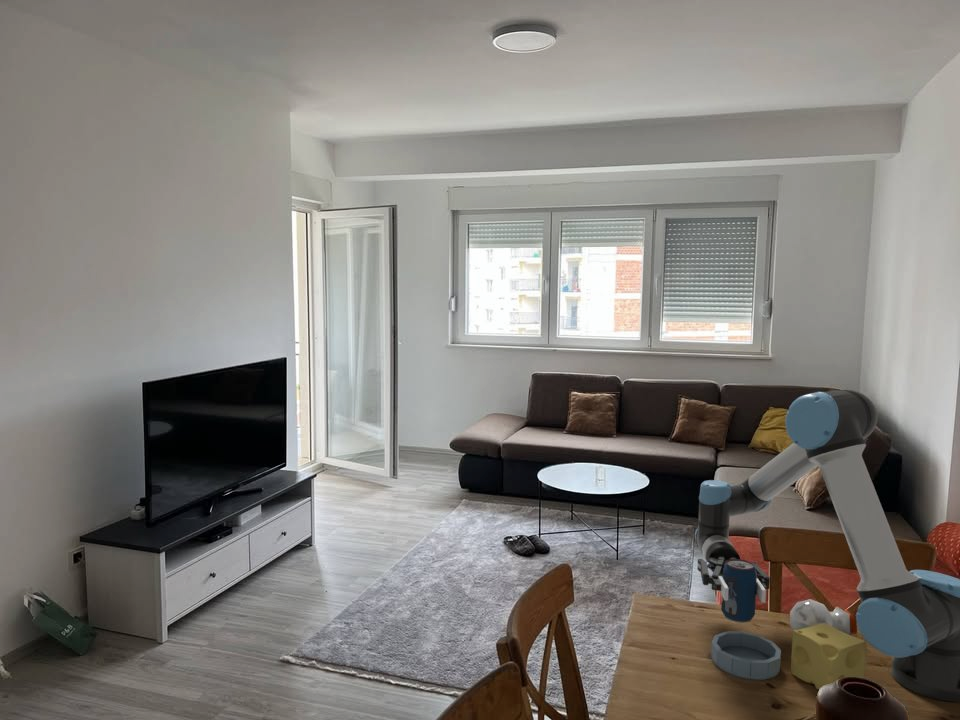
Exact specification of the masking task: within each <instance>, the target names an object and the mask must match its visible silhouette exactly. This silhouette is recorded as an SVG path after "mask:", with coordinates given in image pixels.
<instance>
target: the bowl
mask: <svg viewBox="0 0 960 720" xmlns="http://www.w3.org/2000/svg"><path fill="white" fill-rule="evenodd" d="M710 649H711V650H710V651H711V653H710V656H711V661H712V663H713V664H714V665H715V666H716V667H717V668H718V669H720V670H722V671H723V672H725V673H727V674H729V675H731V676H733V677H737V678H741V679H746V680H752V681H763V680H764V681H765V680H769V679H773V678H775V677H777V676H778V674H779V673H780V668H781V661H782V660H781V659H782V657H781V656H782V650H781V648H780V647H778V645H777V644H776V643H775V642H773V641H772V640H770V639H768V638H766V637H763V636H761V635H759V634H754V633H751V632H747V631H741V630H739V631H737V630H736V631H735V630H734V631H733V630H732V631H723V632H721V633H718V634H715V635H714V636H713V638H712V641H711V648H710Z"/></svg>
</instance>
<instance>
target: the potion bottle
mask: <svg viewBox="0 0 960 720" xmlns="http://www.w3.org/2000/svg"><path fill="white" fill-rule="evenodd" d="M789 619H790V620H789V621H790V622H789V623H790V627H791V629H792V630H793V631H794V630H799V629H804V628H808V627H812V626H815V625H818V624H823V623H826V624H828V625H830V626H832V627H834V628H836V629H838V630H840V631H842V632H844V633H846V634H849V635H851V636H853V635H857V634H858V625H857V621H856V614H854V613H852V611H849V610H847V609H846V608H843V609H842V608H840V607H839V606H836V607H835V608H834V610H833V611H829V609H828V608H827V606H825V604H824V603H821V602H819V601H816V600H814V599H811V598H810V599H805V600H801V601H798V602H796V604H794V605H793V607H792V608H791V610H790V611H789Z"/></svg>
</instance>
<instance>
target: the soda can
mask: <svg viewBox="0 0 960 720" xmlns="http://www.w3.org/2000/svg"><path fill="white" fill-rule="evenodd" d="M722 578H723V579H724V581H725V583H726V585H727V586H728V588H729V589H728V600H724V599H723V597H722V596H721V603H720V604H721V605H720V606H721V608H720V609H721V612H722V614H723V616H724V617H725V618H726V619H727V620H728V621H730V622H731V621H732V622H735V623H745V624H746V623H749V622H751V620H753V618H754V617H755V615H756V602H757V601H756V600H757V599H756V598H757V595H756V581H757V573H756V571H755V568H754V564H753V563H752V562H751V561H748V560H746V559H741V558H740V559H730V560H728V561H727V562H726V565H725V567H724V568H723V577H722Z"/></svg>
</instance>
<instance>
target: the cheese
mask: <svg viewBox="0 0 960 720" xmlns="http://www.w3.org/2000/svg"><path fill="white" fill-rule="evenodd" d="M791 639H792V640H791V656H790V659H791V660H790V667H791V668H790V670H791V671H790V672H791V673H790V674H792V675H793V676H795V677H796V678H798V679H800V680H802V681H803V682H805V683H808V684H813V685H814V687H815V689H817V690H818V689H819V688H820V687H822V686H823V685H826V684H830V683H833V682H835V681H836V680H838V679H840V678H843V677H860V678H863V679H864V675H865V671H866V665H867V659H868V658H867V641H866V640H863V639H862V638H858V637H856V636H853V635H849V634H846V633H844V632H842V631H840V630H838V629H836V628H834V627H832V626H830V625H828V624H826V623H823V624H818V625H815V626H812V627H808V628H804V629H799V630H793V631H792V638H791Z"/></svg>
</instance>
